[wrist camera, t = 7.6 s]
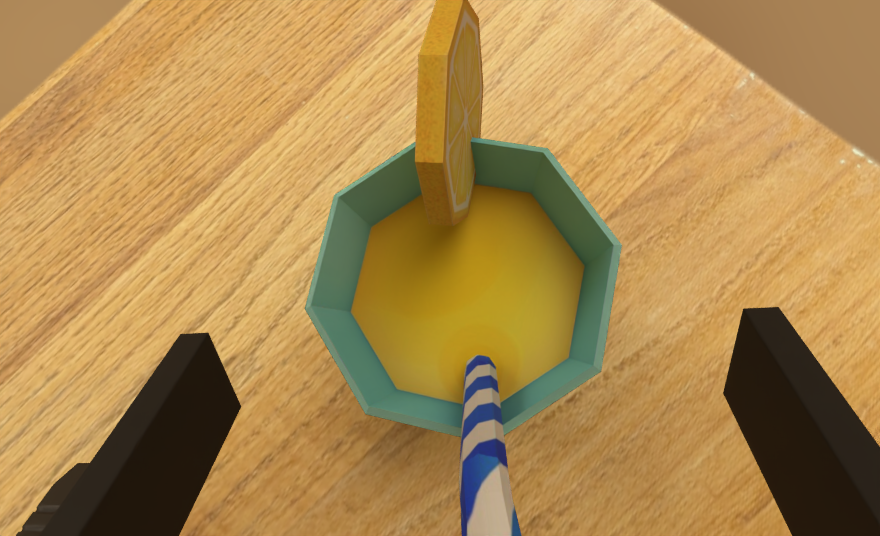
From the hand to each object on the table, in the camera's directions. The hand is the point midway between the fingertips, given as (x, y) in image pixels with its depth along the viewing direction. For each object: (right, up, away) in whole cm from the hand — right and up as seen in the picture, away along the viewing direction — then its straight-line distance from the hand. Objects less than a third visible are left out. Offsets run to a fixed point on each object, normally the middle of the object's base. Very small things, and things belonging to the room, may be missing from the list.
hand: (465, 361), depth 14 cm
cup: (+1, -1, +9) cm, 10 cm away
